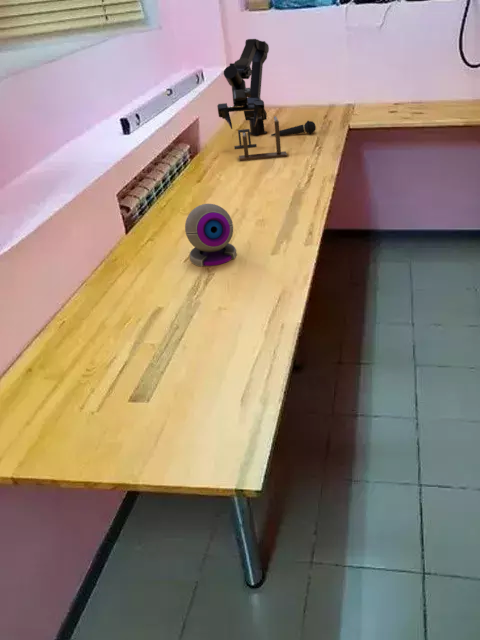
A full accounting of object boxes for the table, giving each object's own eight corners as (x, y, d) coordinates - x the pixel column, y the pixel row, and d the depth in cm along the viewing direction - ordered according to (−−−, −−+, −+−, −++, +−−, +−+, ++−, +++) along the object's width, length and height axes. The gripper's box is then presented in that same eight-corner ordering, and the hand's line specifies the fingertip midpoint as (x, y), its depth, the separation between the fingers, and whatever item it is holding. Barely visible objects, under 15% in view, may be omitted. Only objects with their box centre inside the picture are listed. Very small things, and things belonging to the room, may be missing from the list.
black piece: (234, 148, 250) (232, 130, 246) (256, 146, 250) (254, 128, 246) (234, 149, 249) (232, 131, 245) (256, 147, 249) (255, 129, 245)
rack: (238, 155, 253) (235, 119, 245) (285, 151, 254) (282, 115, 246) (239, 161, 246) (235, 124, 238) (287, 156, 247) (284, 120, 239)
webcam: (197, 270, 166) (188, 217, 157) (184, 253, 176) (176, 202, 167) (242, 260, 170) (236, 207, 161) (228, 243, 180) (221, 193, 171)
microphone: (272, 144, 274) (317, 135, 272) (270, 132, 270) (315, 123, 268) (272, 137, 277) (315, 128, 276) (269, 126, 273) (314, 116, 271)
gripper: (214, 82, 243) (218, 118, 240) (261, 78, 244) (266, 114, 241) (217, 99, 254) (220, 133, 251) (262, 95, 255) (266, 129, 252)
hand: (243, 127), depth 248 cm, fingers open, 9 cm apart
